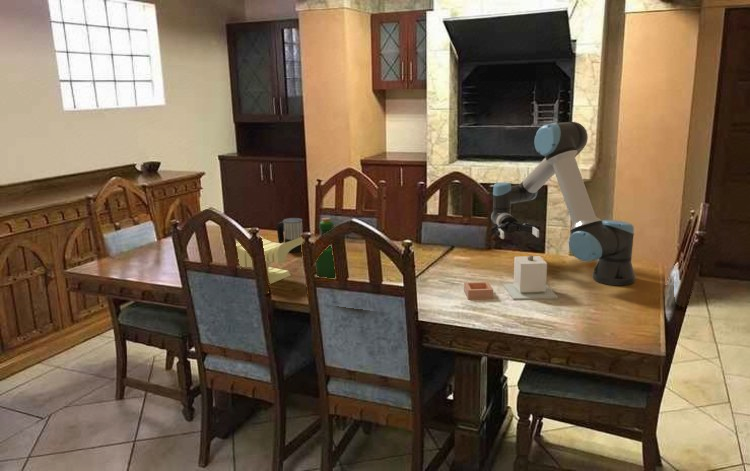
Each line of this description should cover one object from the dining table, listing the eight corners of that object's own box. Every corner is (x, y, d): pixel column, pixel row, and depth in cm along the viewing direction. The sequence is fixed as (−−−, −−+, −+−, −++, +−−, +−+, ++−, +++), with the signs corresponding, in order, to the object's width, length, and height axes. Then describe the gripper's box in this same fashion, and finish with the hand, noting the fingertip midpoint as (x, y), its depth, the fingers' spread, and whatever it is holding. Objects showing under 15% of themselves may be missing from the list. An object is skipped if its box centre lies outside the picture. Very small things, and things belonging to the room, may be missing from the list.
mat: (544, 283, 231) (544, 282, 231) (557, 298, 215) (557, 296, 215) (502, 285, 231) (502, 283, 230) (513, 299, 215) (513, 298, 215)
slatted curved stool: (225, 278, 248) (221, 236, 244) (253, 267, 261) (249, 228, 256) (279, 290, 232) (276, 245, 227) (306, 278, 245) (304, 236, 240)
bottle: (348, 286, 233) (345, 216, 226) (335, 295, 224) (331, 222, 217) (324, 283, 238) (320, 214, 231) (310, 292, 228) (306, 220, 221)
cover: (538, 285, 228) (539, 252, 224) (545, 293, 218) (547, 259, 215) (513, 286, 227) (514, 253, 224) (519, 294, 218) (521, 260, 215)
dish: (487, 290, 225) (488, 281, 224) (493, 298, 217) (493, 289, 216) (463, 291, 225) (464, 282, 224) (468, 299, 216) (468, 290, 216)
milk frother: (307, 247, 290) (305, 217, 287) (294, 257, 276) (292, 225, 272) (279, 246, 294) (277, 217, 290) (266, 255, 279) (263, 224, 275)
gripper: (536, 230, 254) (552, 242, 234) (477, 233, 254) (488, 245, 233) (536, 213, 253) (552, 223, 232) (477, 216, 252) (488, 226, 231)
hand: (520, 234), depth 232 cm, fingers open, 13 cm apart
